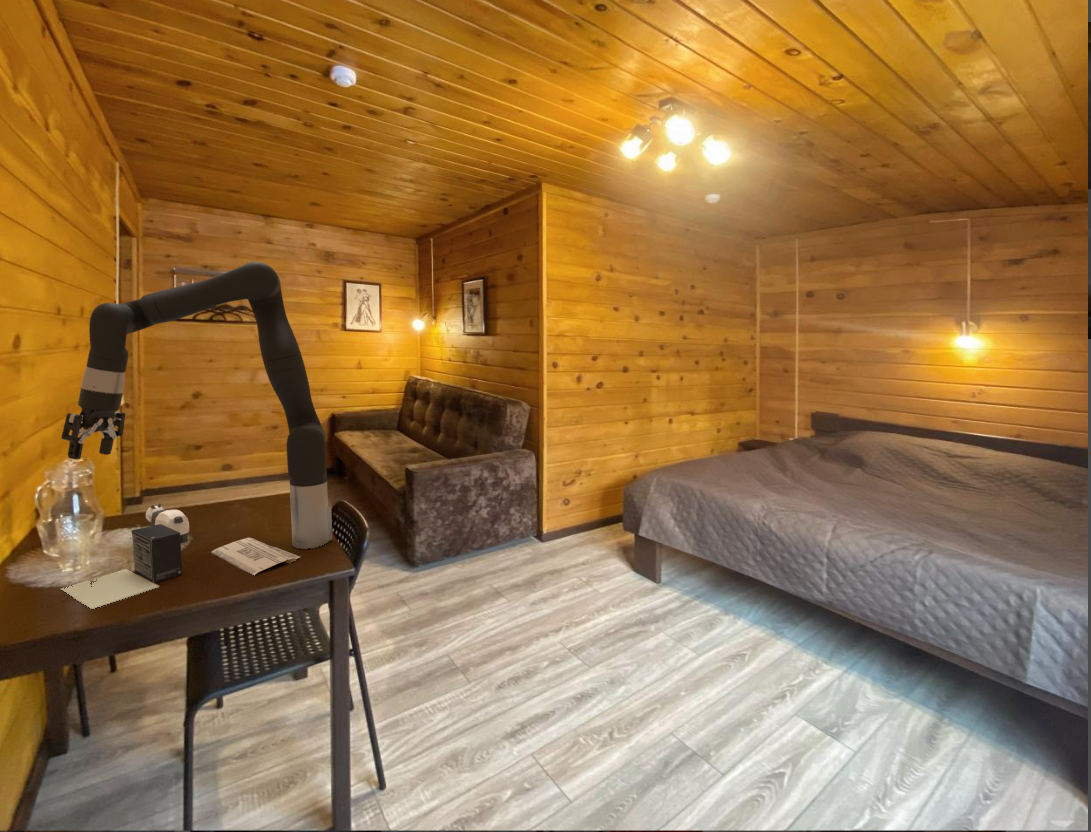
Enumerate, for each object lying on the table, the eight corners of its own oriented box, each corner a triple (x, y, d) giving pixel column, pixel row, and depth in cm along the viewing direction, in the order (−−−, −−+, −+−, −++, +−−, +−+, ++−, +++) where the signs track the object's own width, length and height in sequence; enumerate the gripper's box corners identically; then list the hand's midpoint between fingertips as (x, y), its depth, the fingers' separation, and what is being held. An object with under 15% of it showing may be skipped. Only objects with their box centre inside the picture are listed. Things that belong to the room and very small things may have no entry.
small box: (185, 574, 123) (182, 531, 122) (153, 584, 118) (149, 539, 116) (165, 563, 129) (161, 522, 127) (133, 572, 123) (129, 529, 122)
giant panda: (192, 541, 143) (190, 507, 141) (170, 548, 138) (168, 513, 136) (161, 531, 149) (158, 499, 147) (139, 538, 144) (136, 504, 142)
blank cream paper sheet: (126, 570, 124) (126, 568, 124) (159, 587, 116) (159, 585, 116) (60, 590, 114) (60, 588, 114) (91, 610, 106) (91, 608, 106)
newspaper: (303, 561, 133) (302, 552, 132) (255, 583, 123) (253, 573, 123) (258, 540, 146) (256, 531, 145) (211, 558, 136) (209, 549, 135)
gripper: (93, 392, 114) (80, 464, 114) (141, 391, 128) (129, 455, 129) (58, 384, 113) (45, 456, 114) (110, 385, 128) (98, 449, 128)
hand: (89, 456), depth 121 cm, fingers open, 8 cm apart
